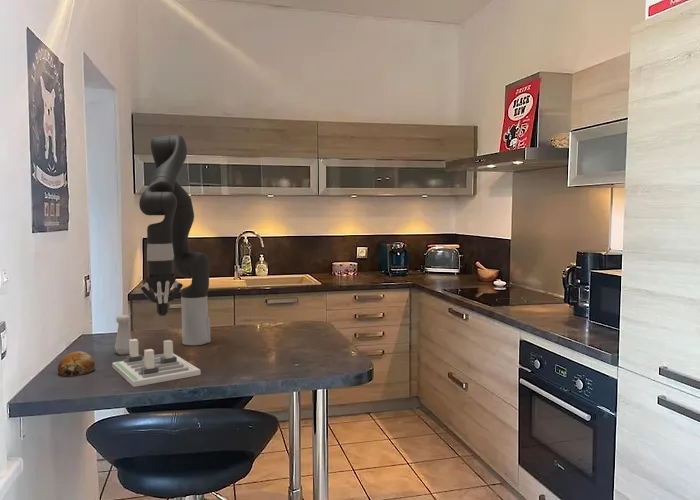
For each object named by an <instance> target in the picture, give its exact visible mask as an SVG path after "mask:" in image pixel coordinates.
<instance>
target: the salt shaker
mask: <svg viewBox="0 0 700 500" xmlns="http://www.w3.org/2000/svg"><path fill="white" fill-rule="evenodd" d="M115 320H116V323H117V324H118V327H117V332H116V339H115V343H114V349H115V351H116V353H117V355H121V356H123V355H124V356H126V355H130V352H129V340H130V339H133V337H132V333H131V329H130V325H129V323H130V321H131V316H130V315H129V314H128V315H127V314H121V315H118V316H116V319H115Z"/></svg>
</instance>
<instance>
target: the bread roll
mask: <svg viewBox="0 0 700 500" xmlns="http://www.w3.org/2000/svg"><path fill="white" fill-rule="evenodd" d="M95 366H96V362H95V360H94V358H93V357H92V356H91V355H90V354H89V353H88V352H85V351H80V350H79V351H71V352H69V353H68V354H66V355H65V356H64V357H62V359H61V360H60V361H59V364H58V366H57V371H58V374H59V375H60V376H62V377H76V376H81V375H86V374H89V373H91V372H93V371H95V368H96V367H95Z"/></svg>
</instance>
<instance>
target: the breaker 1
mask: <svg viewBox="0 0 700 500" xmlns="http://www.w3.org/2000/svg"><path fill="white" fill-rule="evenodd" d="M129 352H130V353H129V354H128V355H125V358H126V362H127V363H128V362H135V361H141V360H142V357H143V355H141V354H140V353H139V339H137V338H132V339H130V340H129Z"/></svg>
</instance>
